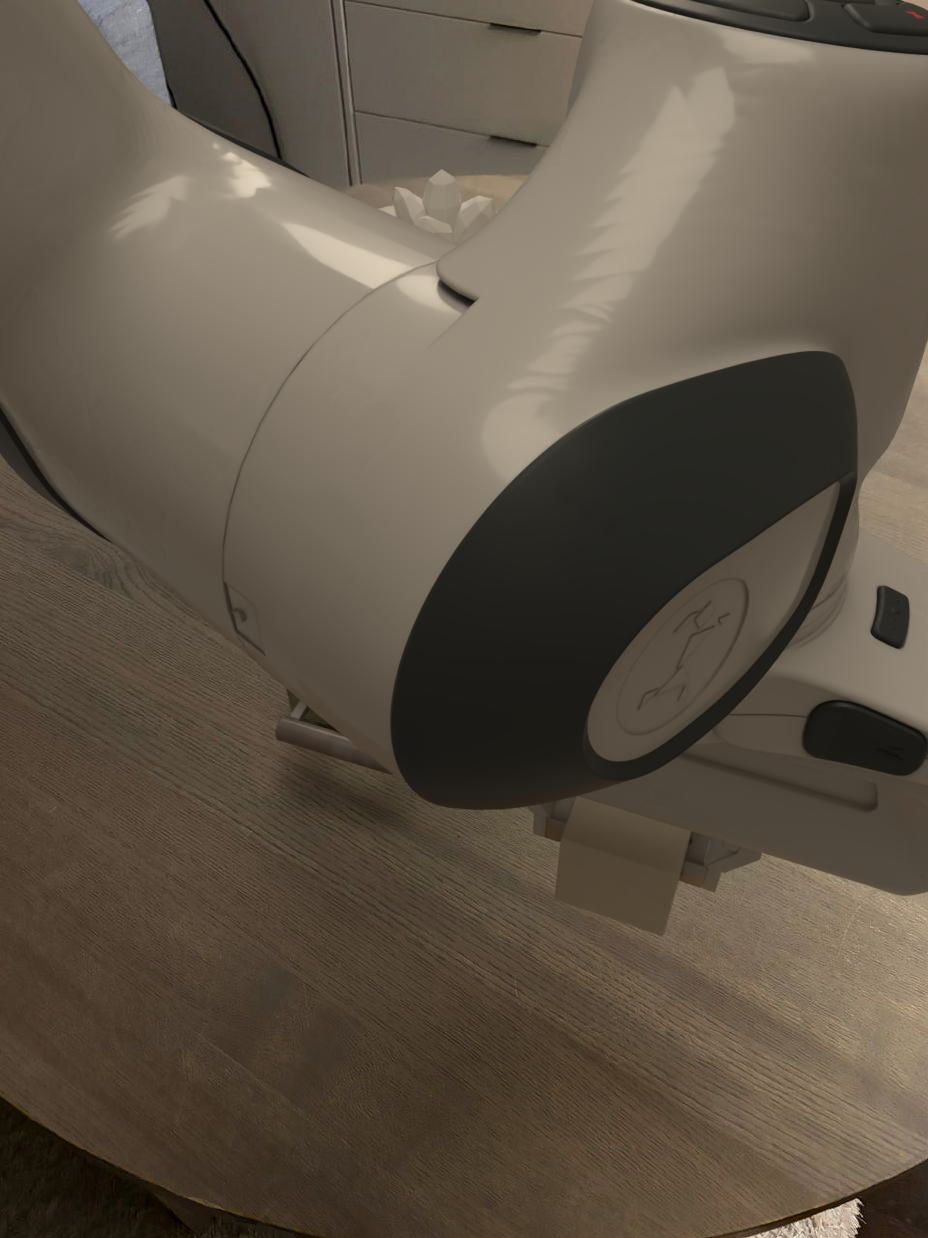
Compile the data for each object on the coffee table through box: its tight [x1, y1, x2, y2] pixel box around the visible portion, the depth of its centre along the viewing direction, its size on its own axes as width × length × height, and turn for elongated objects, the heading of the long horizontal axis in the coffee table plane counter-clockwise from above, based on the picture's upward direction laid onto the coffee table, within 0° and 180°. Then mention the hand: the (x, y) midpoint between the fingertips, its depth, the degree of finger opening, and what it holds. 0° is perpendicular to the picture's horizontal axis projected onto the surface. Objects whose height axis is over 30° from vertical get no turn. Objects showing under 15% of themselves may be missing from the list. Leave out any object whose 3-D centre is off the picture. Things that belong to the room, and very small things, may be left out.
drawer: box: [274, 688, 394, 776], centre depth 64 cm, size 18×11×7 cm, turn 159°
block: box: [554, 796, 692, 937], centre depth 40 cm, size 4×4×4 cm
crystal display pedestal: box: [378, 169, 499, 245], centre depth 91 cm, size 25×25×16 cm
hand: (627, 849), depth 41 cm, fingers closed on block, 4 cm apart
